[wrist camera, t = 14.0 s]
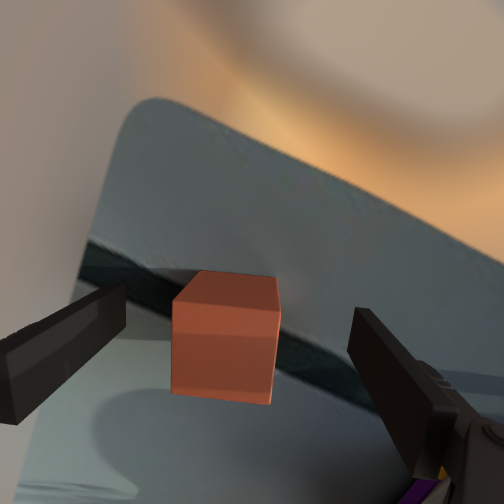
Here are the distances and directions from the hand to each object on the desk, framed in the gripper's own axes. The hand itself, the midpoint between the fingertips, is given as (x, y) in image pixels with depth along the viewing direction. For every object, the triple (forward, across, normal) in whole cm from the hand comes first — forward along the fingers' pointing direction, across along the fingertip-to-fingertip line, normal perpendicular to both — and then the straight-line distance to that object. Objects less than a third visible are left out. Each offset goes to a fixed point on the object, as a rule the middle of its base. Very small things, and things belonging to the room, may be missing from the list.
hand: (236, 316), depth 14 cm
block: (+1, 0, 0) cm, 1 cm away
